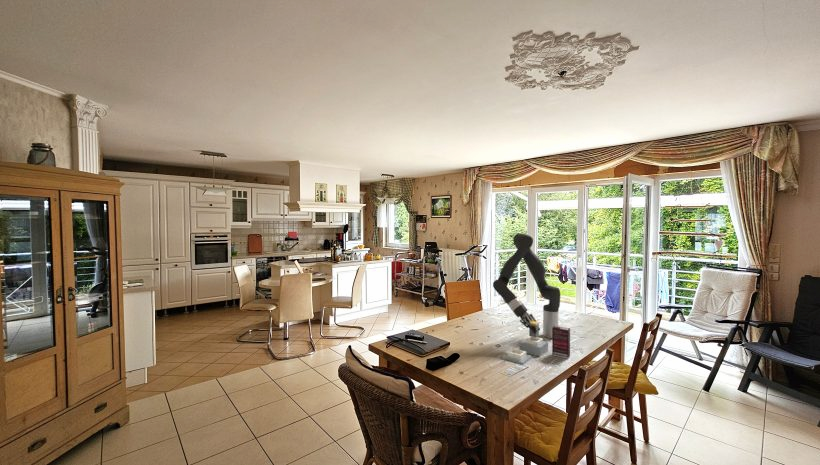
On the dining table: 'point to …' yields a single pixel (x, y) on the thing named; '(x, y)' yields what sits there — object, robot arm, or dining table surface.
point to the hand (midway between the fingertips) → (537, 331)
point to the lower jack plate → (517, 356)
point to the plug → (536, 326)
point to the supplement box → (561, 341)
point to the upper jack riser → (534, 346)
